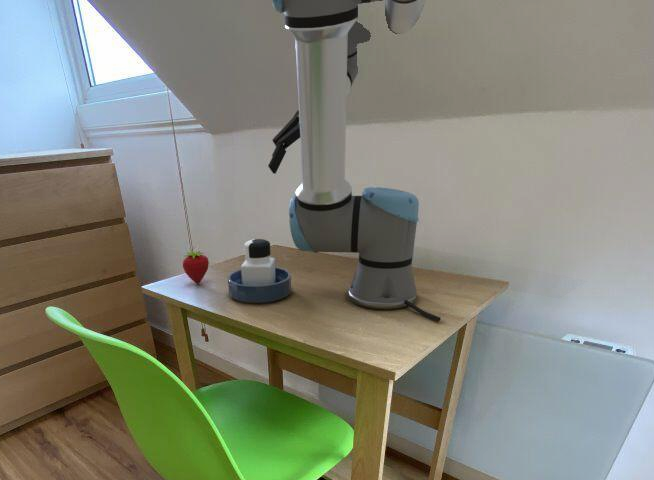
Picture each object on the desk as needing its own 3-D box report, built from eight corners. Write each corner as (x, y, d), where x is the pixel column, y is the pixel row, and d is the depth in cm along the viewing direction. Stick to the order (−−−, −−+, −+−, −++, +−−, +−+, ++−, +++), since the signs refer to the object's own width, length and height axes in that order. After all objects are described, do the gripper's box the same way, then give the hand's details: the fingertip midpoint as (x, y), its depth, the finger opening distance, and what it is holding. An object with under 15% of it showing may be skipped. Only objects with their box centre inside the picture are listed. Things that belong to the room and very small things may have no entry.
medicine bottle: (276, 285, 110) (274, 236, 104) (272, 295, 104) (269, 244, 98) (248, 285, 111) (245, 237, 105) (243, 295, 105) (238, 244, 99)
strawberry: (216, 281, 116) (212, 243, 111) (196, 290, 111) (191, 250, 106) (200, 278, 119) (195, 241, 114) (180, 286, 114) (174, 247, 109)
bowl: (303, 293, 106) (303, 275, 104) (254, 310, 98) (253, 291, 96) (264, 279, 116) (263, 262, 114) (217, 294, 108) (215, 276, 106)
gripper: (379, 106, 103) (342, 184, 101) (296, 110, 117) (262, 179, 115) (370, 78, 96) (330, 160, 95) (283, 86, 110) (247, 158, 109)
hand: (293, 171), depth 105 cm, fingers open, 13 cm apart
